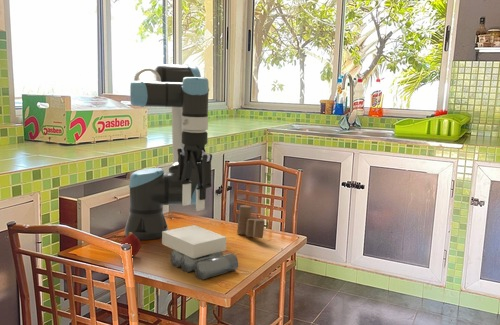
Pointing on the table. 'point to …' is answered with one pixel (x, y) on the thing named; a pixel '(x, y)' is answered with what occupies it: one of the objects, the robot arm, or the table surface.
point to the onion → (132, 243)
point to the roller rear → (176, 258)
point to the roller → (216, 266)
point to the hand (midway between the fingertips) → (193, 207)
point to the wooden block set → (249, 223)
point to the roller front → (195, 261)
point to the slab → (194, 241)
